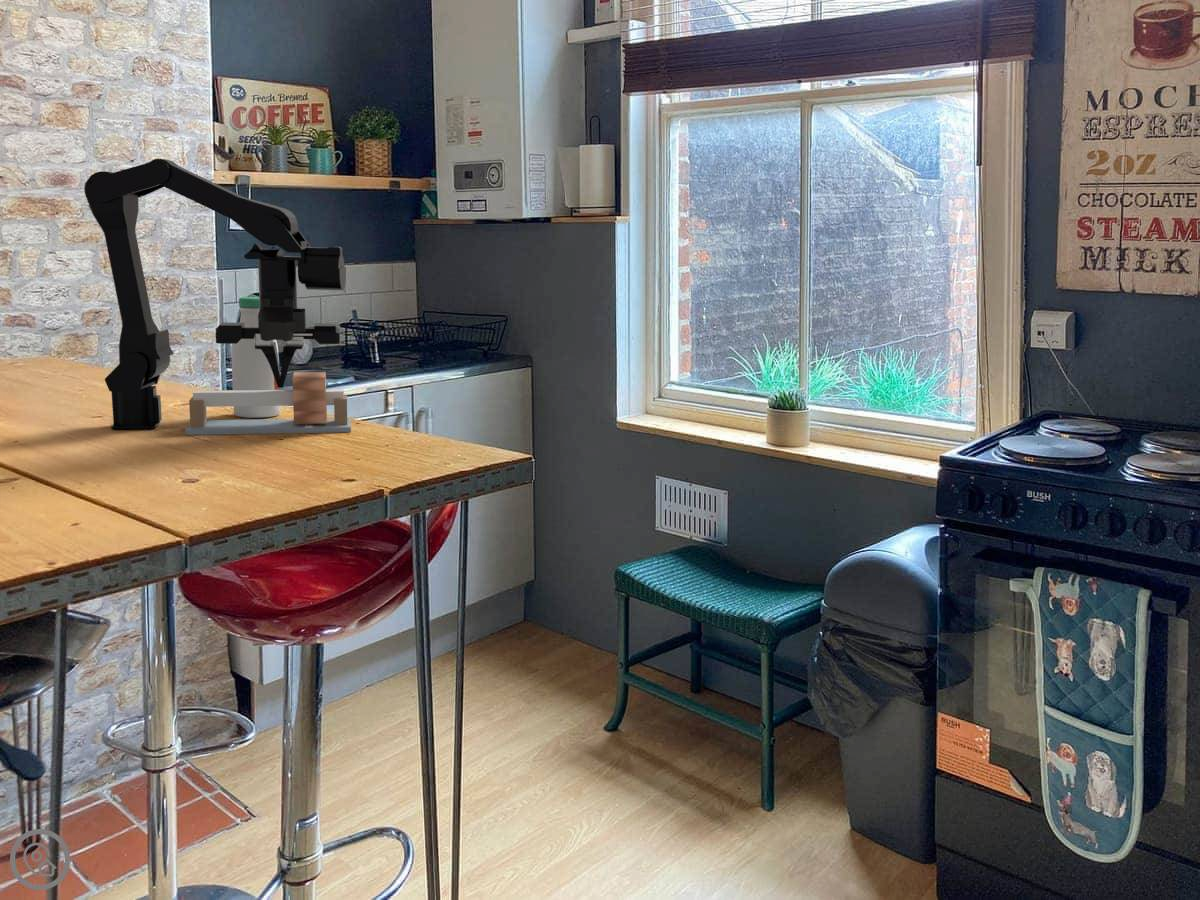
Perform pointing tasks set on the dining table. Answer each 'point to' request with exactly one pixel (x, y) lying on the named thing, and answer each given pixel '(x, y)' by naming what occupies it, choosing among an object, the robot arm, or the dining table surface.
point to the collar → (309, 397)
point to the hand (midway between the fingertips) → (280, 387)
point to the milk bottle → (252, 364)
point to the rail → (263, 398)
